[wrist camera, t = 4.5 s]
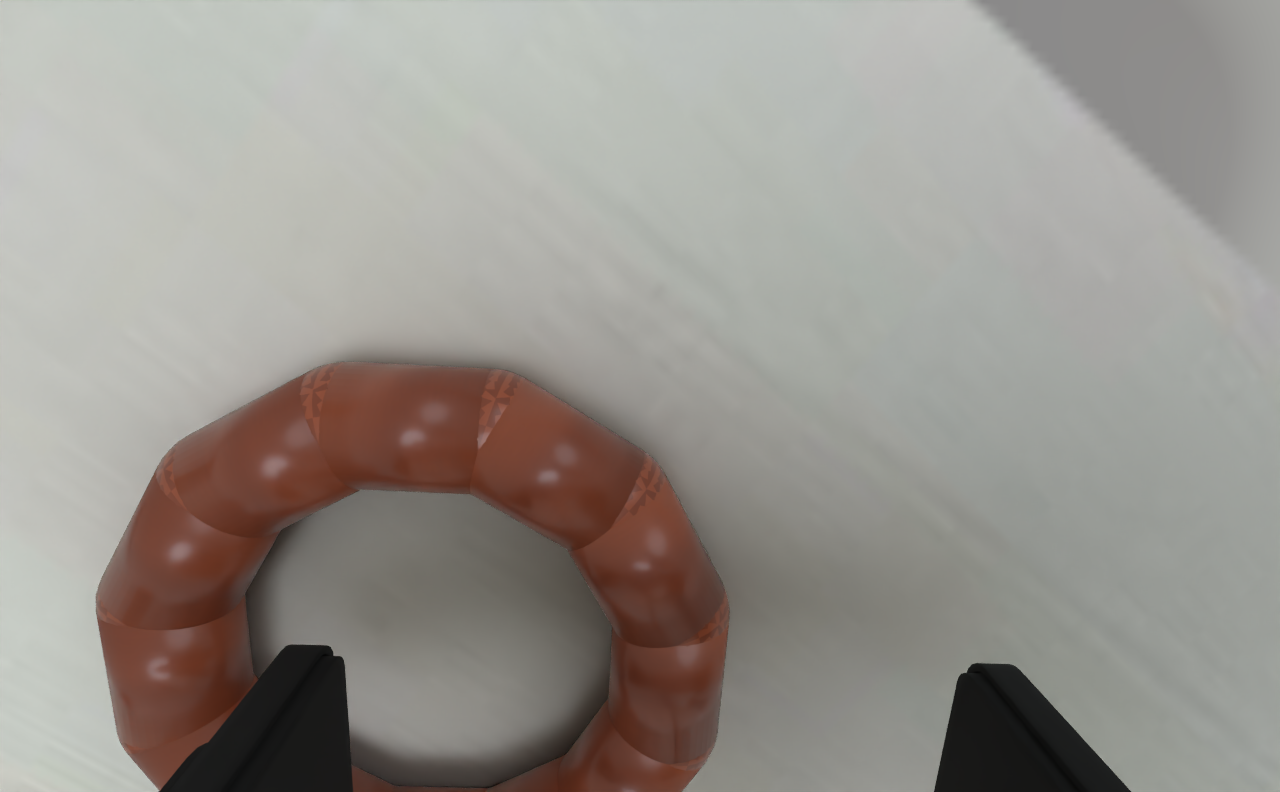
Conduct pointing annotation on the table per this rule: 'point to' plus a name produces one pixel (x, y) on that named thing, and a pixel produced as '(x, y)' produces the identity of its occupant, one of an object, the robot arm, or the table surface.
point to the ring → (415, 462)
